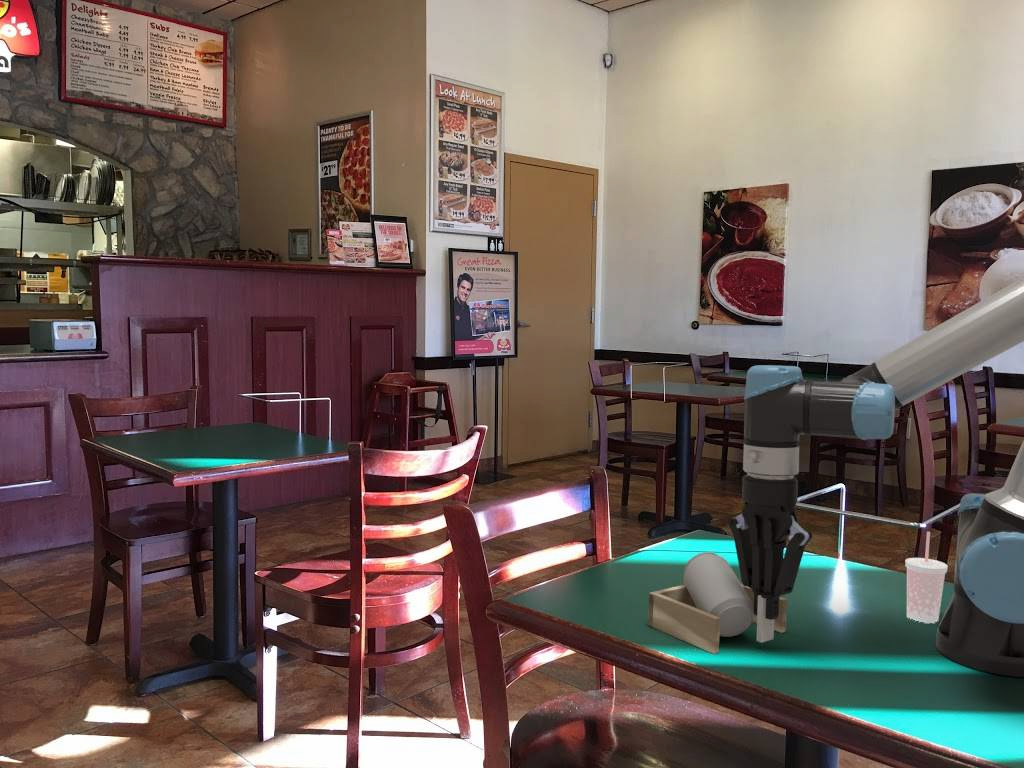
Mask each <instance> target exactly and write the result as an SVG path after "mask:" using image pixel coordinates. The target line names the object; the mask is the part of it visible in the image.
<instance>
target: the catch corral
mask: <svg viewBox="0 0 1024 768" xmlns="http://www.w3.org/2000/svg"><path fill="white" fill-rule="evenodd" d="M740 583H741V585H742V586H743V588H744V590H745V591H746V593H747V595H748V596H749V598H750V599H751V601H752V603H753V605H754V593H753V591H752V589H751V588H749V587H748V586H744V585H743V584H742V582H740ZM647 614H648V615H647V626H650V627H651V628H654V629H657V630H658V631H660V632H662V633H666V634H667V635H670V636H672V637H674V638H677V639H679V640H681V641H682V642H685V643H687V644H690V645H692V646H695V647H698V648H700V649H702V650H704V651H707V652H709V653H711V654H713V655H714V654H718V653H719V652H720V651H719V648H720V636H719V635H720V617H717V616H715V615H712V614H709V613H707V612H704V611H702V610H699V609H697V607H696V605H695V603H694V601H693V599H692V597H691V596H690V594H689V592H688V590H687V588H686V586H685V584H680V585H677V586H672V587H669V588H664V589H660V590H655V591H652V592H648V610H647ZM787 614H788V599H787V598H786V597H782V596H780V597H779V615H778V618H776V619H774V632H778V633H786V631H787V630H786V629H787ZM751 623H754V624H757V615H755V616H754V619H753V620H752V622H751Z"/></svg>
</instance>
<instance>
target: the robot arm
mask: <svg viewBox="0 0 1024 768" xmlns="http://www.w3.org/2000/svg"><path fill="white" fill-rule="evenodd" d="M1021 343H1024V276H1023V277H1021V278H1019V279H1017V280H1016V281H1014V282H1012V283H1011V284H1009V285H1006V286H1005V287H1003V288H1002V289H1000V290H998V291H996V292H995V293H993V294H991V295H989V296H987V297H985V298H984V299H982V300H980V301H979V302H977V303H976V304H974V305H972V306H971V307H969V308H967V309H964V310H963V311H961V312H960V313H958V314H956V315H955V316H953V317H950V318H949V319H947V320H945V321H943V322H941V323H940V324H938V325H937V326H935V327H933V328H930V329H929V330H928V331H926V332H924V333H923V334H921V335H919V336H917V337H915V338H914V339H912V340H911V341H908V342H907V343H905V344H903V345H902V346H900V347H898V348H896V349H894V350H893V351H891V352H889V353H888V354H886V355H884V356H883V357H880V358H879V359H877V360H875V362H872V363H870V364H868V365H866V366H865V367H862V369H860V370H858V371H856V372H854V373H853V374H850V375H847V376H846V377H844V378H842V379H840V380H839V381H813V380H808V379H807V380H805V379H804V377H803V374H802V373H803V372H802V369H801V368H800V367H799V366H795V365H794V366H793V365H771V364H769V365H768V364H767V365H764V364H763V365H762V364H761V365H759V364H758V365H754V366H751V367H750V368H749V369H748V370H747V372H746V381H745V393H744V396H743V401H744V411H743V412H744V419H743V421H744V423H743V428H744V429H743V431H744V433H743V458H742V459H743V461H742V462H743V463H742V470H743V471H744V472H745V473H747V474H744V475H743V476H742V480H741V481H742V485H741V486H742V488H741V498H742V501H744V503H743V507H742V508H741V513H740V514H738V515H736V517H730V518H728V520H727V523H728V524H727V525H728V526H729V529H730V531H731V533H732V535H733V539H734V546H735V551H736V556H737V561H738V569H739V573H740V578H741V583H742V584H743V585H744V586H748V587H749V588H751V589H752V591H753V593H754V614H755V615H757V623H756V642H758V643H766V642H768V641H771V640H774V637H775V635H774V633H775V630H774V619H776V618H778V615H779V597H782V596H785V595H789V594H791V593H792V592H793V590H794V587H795V583H796V580H797V576H798V573H799V569H800V565H801V562H802V558H803V555H804V552H805V548H806V546H807V545H808V544H809V542H810V541H811V540H812V538H813V533H812V532H811V531H810V530H806V531H805V530H804V528H802V526H800V525H799V524H798V522H799V521H798V515H797V513H796V505H797V502H798V498H799V497H798V495H799V480H798V479H797V477H795V475H796V476H797V475H798V474H799V473H800V469H799V467H800V435H803V436H804V435H805V436H822V437H823V436H824V437H835V438H847V439H860V440H862V441H868V440H887V439H889V438H891V437H892V435H893V433H894V425H895V412H896V411H897V410H899V409H900V408H902V407H904V406H905V405H907V404H910V403H911V402H913V401H914V400H917V399H918V398H920V397H923V396H924V395H926V394H928V393H930V392H932V391H933V390H935V389H937V388H939V387H941V386H943V385H944V384H946V383H948V382H950V381H952V380H954V379H956V378H958V377H960V376H961V375H963V374H965V373H967V372H969V371H971V370H973V369H975V368H976V367H978V366H980V365H982V364H985V362H987V361H990V360H992V359H993V358H995V357H997V356H998V355H1001V354H1003V353H1005V352H1006V351H1008V350H1010V349H1012V348H1013V347H1016V346H1018V345H1020V344H1021ZM957 516H958V525H957V526H958V527H957V538H956V539H957V540H956V549H955V550H956V551H955V553H956V554H955V567H954V577H953V579H954V580H953V593H952V596H951V599H950V601H949V603H948V605H947V608H946V610H945V612H944V614H943V615H942V618H941V620H940V623H939V625H938V626H937V629H936V637H935V639H936V640H935V647H936V649H937V650H938V652H939V653H941V654H942V655H943V656H945V657H946V658H948V659H950V660H952V661H953V662H956V663H958V664H961V665H964V666H966V667H969V668H972V669H976V670H979V671H983V672H985V673H991V674H995V675H1001V676H1008V677H1018V678H1024V439H1023V441H1022V443H1021V446H1020V448H1019V450H1018V452H1017V454H1016V457H1015V459H1014V462H1013V464H1012V466H1011V469H1010V471H1009V474H1008V476H1007V478H1006V480H1005V483H1004V485H1003V486H1002V487H1001V488H999V489H996V490H993V491H991V492H988V493H966V494H964V495H963V496H962V497H961V499H960V504H959V508H958V510H957ZM787 538H788V543H787ZM784 550H785V552H784Z"/></svg>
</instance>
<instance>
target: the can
mask: <svg viewBox="0 0 1024 768" xmlns="http://www.w3.org/2000/svg"><path fill="white" fill-rule="evenodd" d="M741 583H742V582H740V580H739V578H738V577H737V575H736V574H735V572H734V570H733V569H732V567H731V565H730V563H729V562H728V560H727V559H725V558H724V556H720V555H718V554H717V553H716V552H715V553H714V552H711V551H707V552H705V551H704V552H701V553H697V554H696V555H694V556H693V557H691V558H690V559H688V561H687V563H686V564H685V565H684V569H683V585H685V586H686V588H687V590H688V592H689V594H690V596H691V597H692V599H693V601H694V603H695V605H696V607H697V609H699V610H702V611H704V612H707V613H709V614H712V615H715V616H717V617H720V635H719V637H724V638H725V637H730V638H731V637H734V636H735V637H736V636H738V635H740V634H742V633H743V632H744V631H746V630H747V629H748V628H749V627H750V625H752V623H753V622H752V620H753V619H754V616H755V614H754V605H753V603H752V601H751V599H750V598H749V596H748V595H747V593H746V591H745V590H744V588H743V586H742V585H741Z"/></svg>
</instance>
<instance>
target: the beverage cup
mask: <svg viewBox="0 0 1024 768" xmlns="http://www.w3.org/2000/svg"><path fill="white" fill-rule="evenodd" d="M930 538H931V532H930V531H926V541H925V555H924V557H908V558H905V561H904V562H905V565H904V566H905V567H906V618H907V619H909V618H910V619H909V620H911V619H913V620H915V621H914V622H916V621H919V622H918V623H920V622H924V623H923V624H930V623H932V624H936V623H935V622H937V621H938V622H939V620H940V612H941V606H942V605H941V604H942V597H943V590H944V582H945V578H946V577H945V576H946V574H947V573H948V567H949V566H948V564H946V563H945V562H942V561H940V560H936V559H932V558H931V559H930V558H929V553H930V542H931V541H930V540H931V539H930ZM913 620H912V621H913ZM938 622H937V623H938Z"/></svg>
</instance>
